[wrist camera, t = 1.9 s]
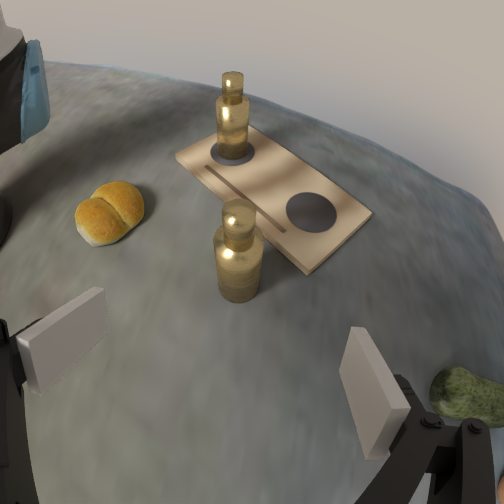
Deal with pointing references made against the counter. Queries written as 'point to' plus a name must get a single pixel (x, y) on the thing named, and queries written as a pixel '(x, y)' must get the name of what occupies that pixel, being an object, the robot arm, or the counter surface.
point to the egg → (501, 491)
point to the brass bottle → (238, 251)
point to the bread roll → (109, 213)
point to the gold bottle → (232, 118)
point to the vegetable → (467, 396)
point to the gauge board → (280, 197)
